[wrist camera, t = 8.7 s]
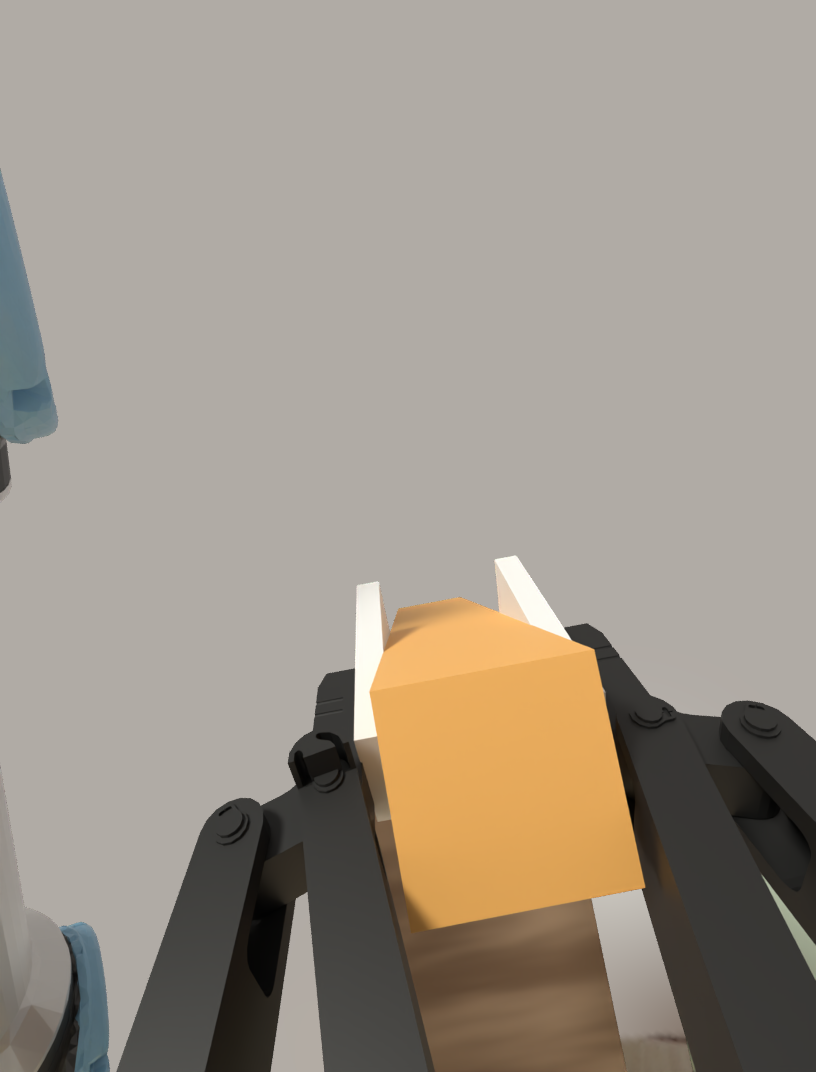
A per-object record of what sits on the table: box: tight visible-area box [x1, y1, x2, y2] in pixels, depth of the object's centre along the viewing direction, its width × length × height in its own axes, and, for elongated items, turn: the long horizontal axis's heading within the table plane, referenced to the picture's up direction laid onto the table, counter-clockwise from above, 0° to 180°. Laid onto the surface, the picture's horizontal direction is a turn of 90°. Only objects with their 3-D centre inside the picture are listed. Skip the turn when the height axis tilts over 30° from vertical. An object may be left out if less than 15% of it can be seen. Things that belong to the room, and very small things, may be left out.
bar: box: [369, 597, 645, 933], centre depth 19 cm, size 22×4×4 cm, turn 179°
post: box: [375, 814, 627, 1072], centre depth 28 cm, size 10×10×30 cm
